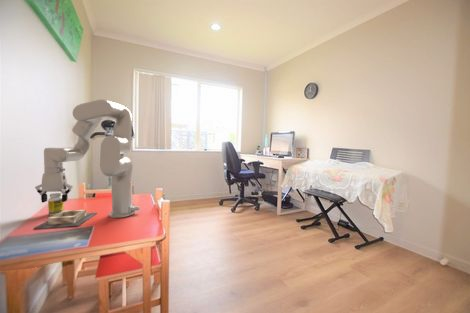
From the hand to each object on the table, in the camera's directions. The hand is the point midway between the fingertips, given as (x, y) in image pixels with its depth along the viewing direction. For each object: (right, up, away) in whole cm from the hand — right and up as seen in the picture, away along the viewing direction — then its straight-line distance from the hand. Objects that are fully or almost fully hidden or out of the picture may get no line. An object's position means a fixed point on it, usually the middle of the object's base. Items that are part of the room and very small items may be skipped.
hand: (54, 201), depth 114 cm
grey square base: (+16, -7, -10) cm, 20 cm away
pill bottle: (+1, -7, 0) cm, 7 cm away
